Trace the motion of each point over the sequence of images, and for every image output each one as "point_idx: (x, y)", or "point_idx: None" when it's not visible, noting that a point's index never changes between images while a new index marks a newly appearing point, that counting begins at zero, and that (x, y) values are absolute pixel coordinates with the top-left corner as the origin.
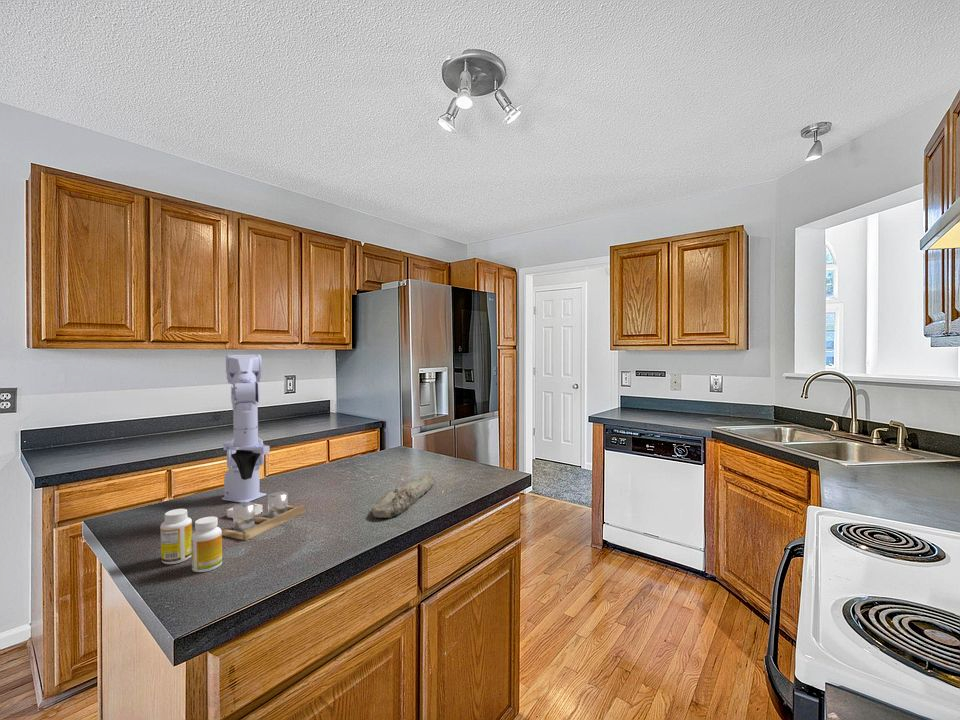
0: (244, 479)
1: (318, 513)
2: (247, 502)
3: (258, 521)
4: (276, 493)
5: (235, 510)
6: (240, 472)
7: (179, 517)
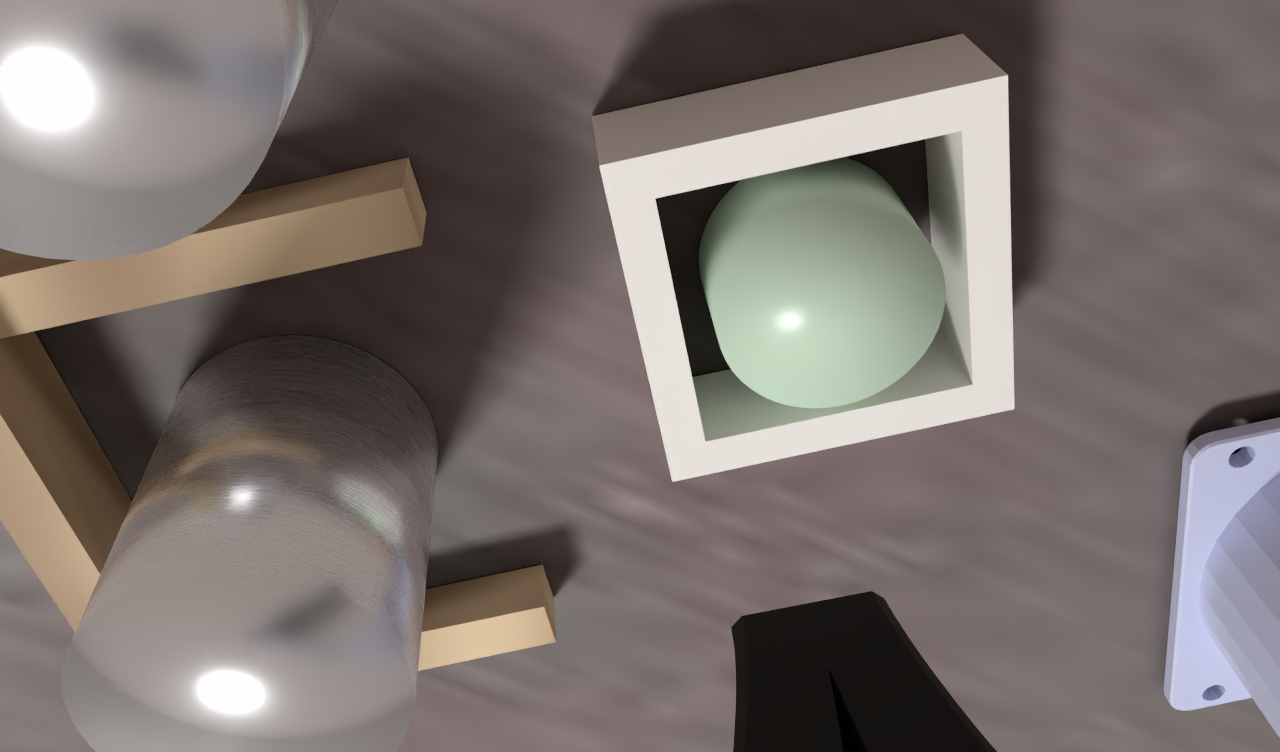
0: (764, 617)
1: (13, 735)
2: (198, 188)
3: (278, 192)
4: (308, 705)
5: None
6: (925, 736)
7: None
